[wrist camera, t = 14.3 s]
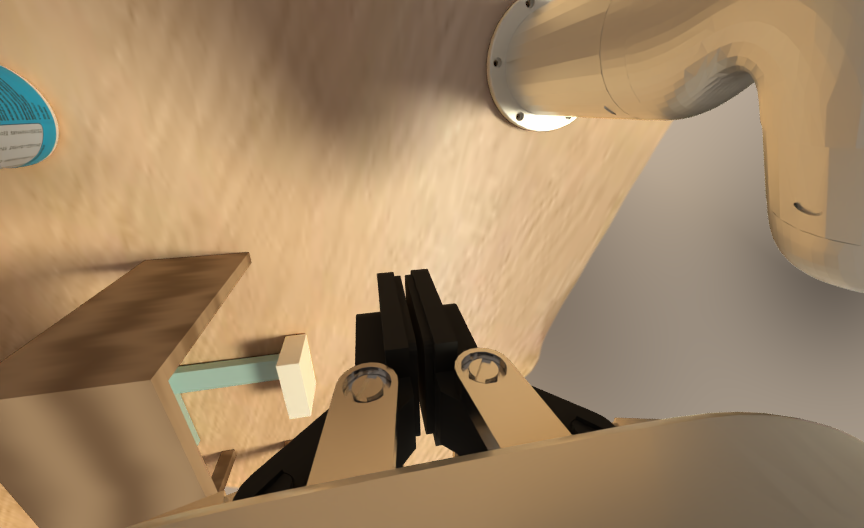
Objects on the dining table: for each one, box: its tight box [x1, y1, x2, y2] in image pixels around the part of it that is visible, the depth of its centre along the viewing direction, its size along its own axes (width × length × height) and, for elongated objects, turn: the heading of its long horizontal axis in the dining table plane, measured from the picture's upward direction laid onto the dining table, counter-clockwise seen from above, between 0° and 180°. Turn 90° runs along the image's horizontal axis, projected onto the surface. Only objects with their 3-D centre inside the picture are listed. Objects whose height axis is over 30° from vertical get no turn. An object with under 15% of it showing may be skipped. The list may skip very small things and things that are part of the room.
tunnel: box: [0, 252, 292, 528], centre depth 33 cm, size 10×30×19 cm, turn 1°
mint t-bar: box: [168, 334, 316, 446], centre depth 40 cm, size 17×22×5 cm
